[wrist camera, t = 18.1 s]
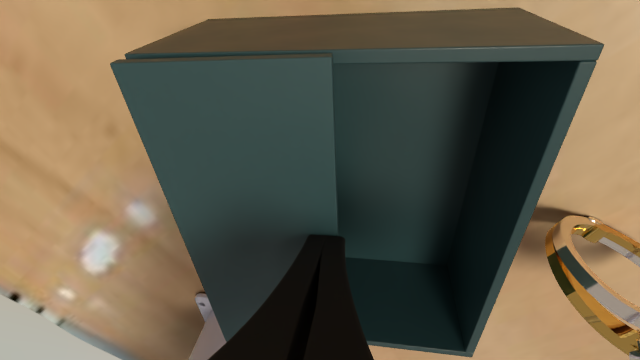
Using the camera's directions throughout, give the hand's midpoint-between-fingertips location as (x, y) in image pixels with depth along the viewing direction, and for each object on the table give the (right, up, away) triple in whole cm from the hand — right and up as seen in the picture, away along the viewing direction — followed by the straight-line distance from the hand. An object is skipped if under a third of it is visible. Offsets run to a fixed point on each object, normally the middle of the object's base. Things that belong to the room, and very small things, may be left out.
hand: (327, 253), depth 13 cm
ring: (+14, +1, +5) cm, 15 cm away
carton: (+1, +4, +5) cm, 7 cm away
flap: (-3, 0, +1) cm, 3 cm away
